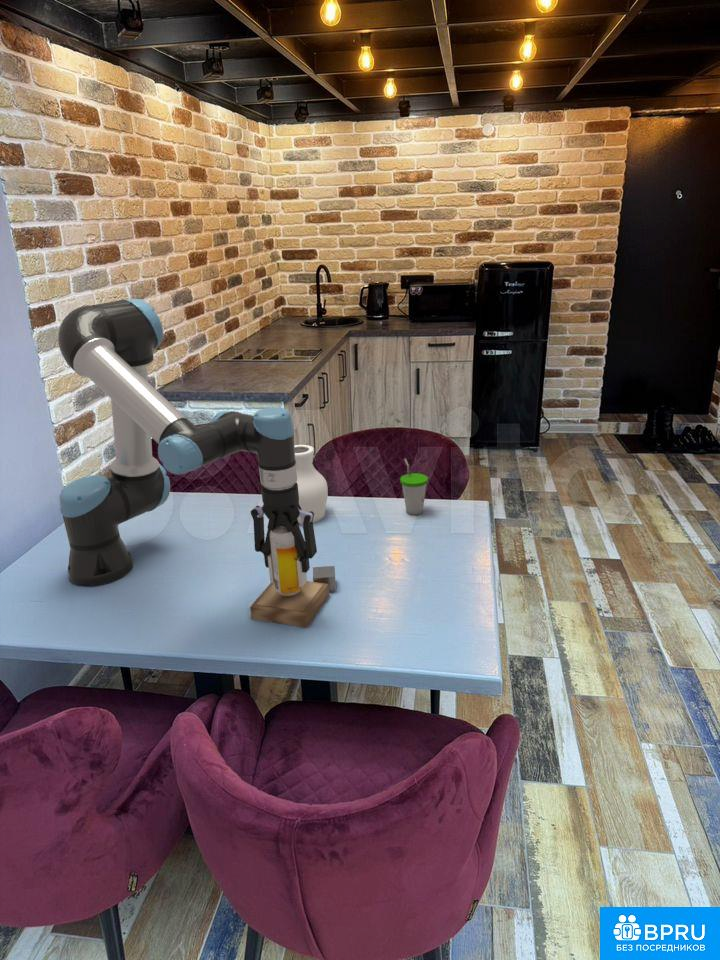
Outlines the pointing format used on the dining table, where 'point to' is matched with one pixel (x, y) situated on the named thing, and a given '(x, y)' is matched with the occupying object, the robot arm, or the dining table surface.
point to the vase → (310, 483)
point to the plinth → (290, 605)
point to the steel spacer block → (325, 576)
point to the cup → (414, 491)
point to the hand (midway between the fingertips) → (288, 581)
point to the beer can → (284, 561)
